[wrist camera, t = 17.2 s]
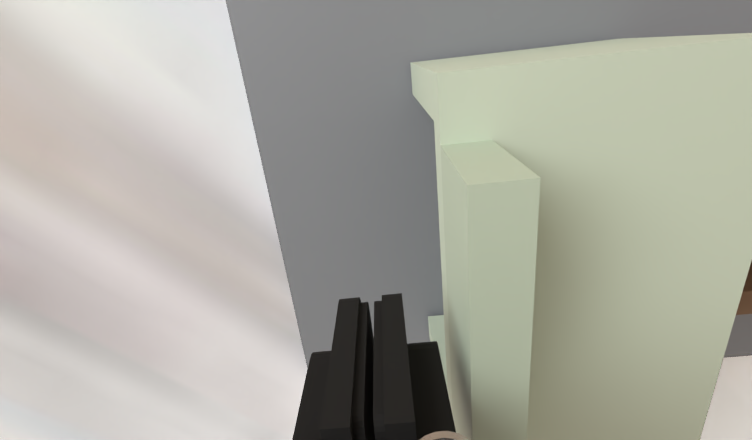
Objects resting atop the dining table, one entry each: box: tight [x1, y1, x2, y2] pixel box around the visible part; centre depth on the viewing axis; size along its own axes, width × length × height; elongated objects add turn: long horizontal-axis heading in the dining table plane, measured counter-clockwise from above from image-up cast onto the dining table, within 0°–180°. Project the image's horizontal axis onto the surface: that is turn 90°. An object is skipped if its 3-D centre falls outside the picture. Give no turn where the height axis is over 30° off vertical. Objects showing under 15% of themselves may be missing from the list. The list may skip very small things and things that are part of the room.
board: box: [226, 0, 752, 368], centre depth 17 cm, size 20×24×5 cm
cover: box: [410, 33, 752, 440], centre depth 13 cm, size 13×8×10 cm, turn 6°
